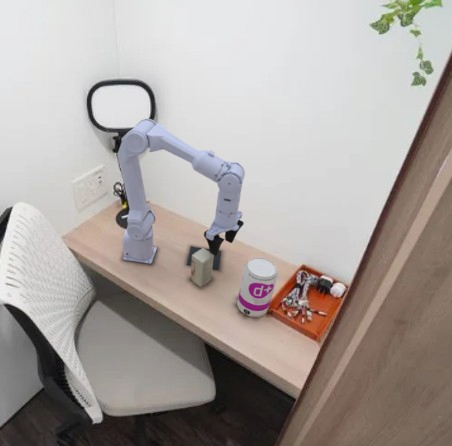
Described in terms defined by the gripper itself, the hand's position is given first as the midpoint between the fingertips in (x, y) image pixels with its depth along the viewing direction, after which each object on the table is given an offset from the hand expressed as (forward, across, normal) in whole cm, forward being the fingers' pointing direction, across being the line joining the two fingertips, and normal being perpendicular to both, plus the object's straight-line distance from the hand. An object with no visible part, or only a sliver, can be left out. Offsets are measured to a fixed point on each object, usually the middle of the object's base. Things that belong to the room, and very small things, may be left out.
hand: (221, 247), depth 98 cm
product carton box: (+10, -6, +2) cm, 12 cm away
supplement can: (+10, -4, -14) cm, 18 cm away
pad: (+10, +3, +7) cm, 13 cm away
